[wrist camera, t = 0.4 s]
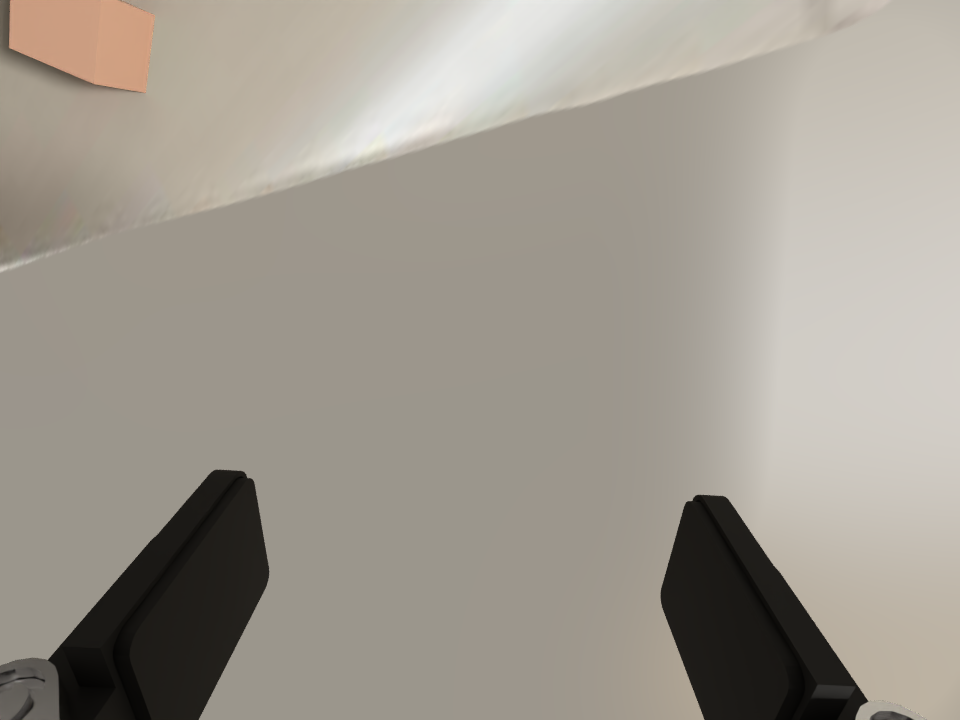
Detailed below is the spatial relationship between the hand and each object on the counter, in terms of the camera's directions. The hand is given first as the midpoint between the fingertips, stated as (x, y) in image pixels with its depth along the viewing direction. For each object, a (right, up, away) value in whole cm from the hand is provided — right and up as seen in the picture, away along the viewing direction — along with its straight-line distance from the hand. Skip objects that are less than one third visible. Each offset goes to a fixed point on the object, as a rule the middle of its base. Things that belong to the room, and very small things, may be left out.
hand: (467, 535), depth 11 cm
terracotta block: (-25, +26, +23) cm, 43 cm away
